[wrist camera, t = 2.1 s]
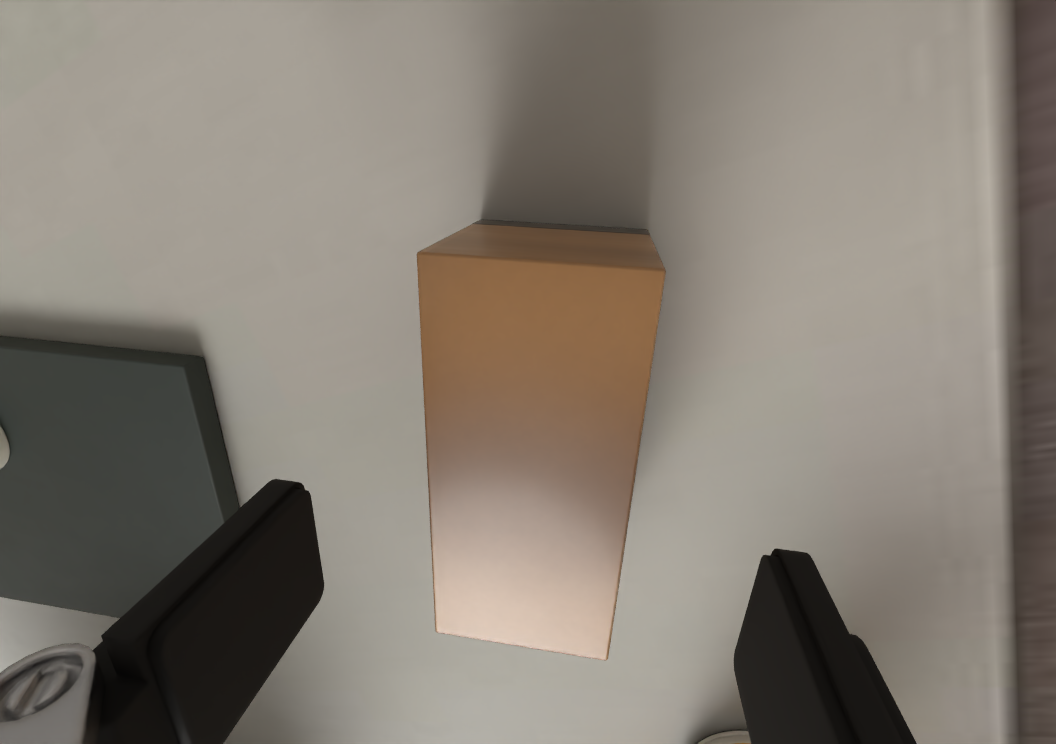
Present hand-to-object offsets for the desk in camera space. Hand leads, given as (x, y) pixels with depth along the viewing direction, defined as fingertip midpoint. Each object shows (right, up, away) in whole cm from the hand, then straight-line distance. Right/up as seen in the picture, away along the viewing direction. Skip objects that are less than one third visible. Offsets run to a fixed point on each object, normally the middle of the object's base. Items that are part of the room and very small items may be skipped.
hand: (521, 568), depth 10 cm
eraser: (+1, +3, +7) cm, 8 cm away
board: (-24, -1, +13) cm, 27 cm away
